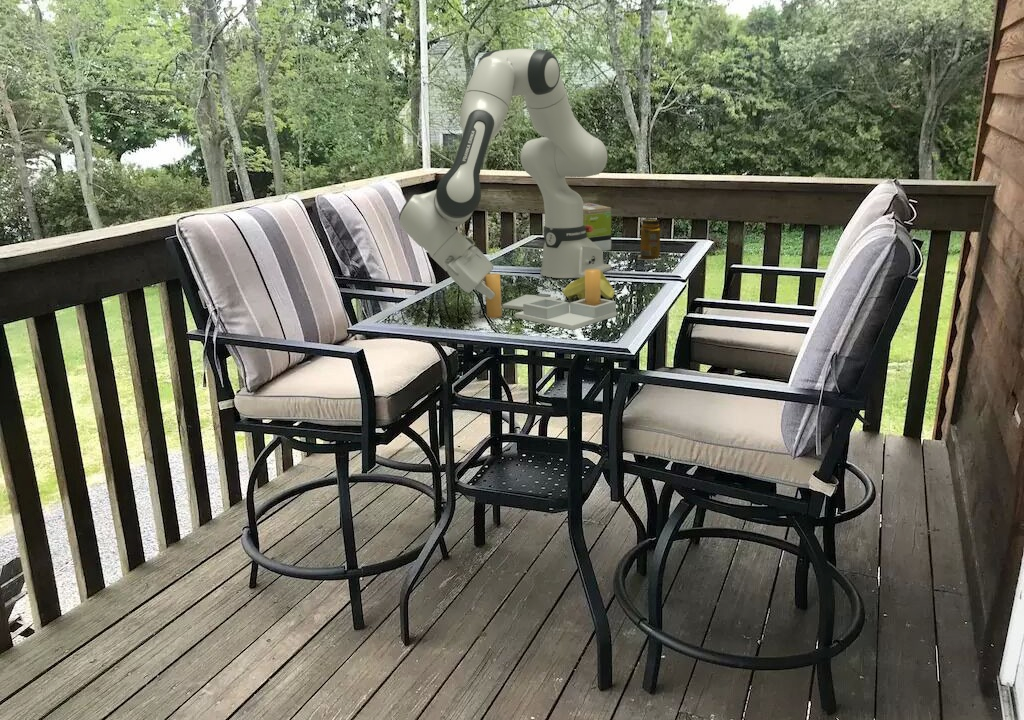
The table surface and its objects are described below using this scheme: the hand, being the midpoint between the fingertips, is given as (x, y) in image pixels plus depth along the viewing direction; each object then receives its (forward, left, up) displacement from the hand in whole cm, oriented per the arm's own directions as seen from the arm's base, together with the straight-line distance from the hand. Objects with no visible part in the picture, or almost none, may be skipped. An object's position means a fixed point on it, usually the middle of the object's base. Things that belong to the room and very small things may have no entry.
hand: (496, 293), depth 194 cm
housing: (-10, +13, -5) cm, 17 cm away
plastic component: (-26, +6, -6) cm, 27 cm away
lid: (-14, -2, -5) cm, 15 cm away
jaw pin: (0, -1, -5) cm, 5 cm away
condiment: (-82, -15, -6) cm, 83 cm away
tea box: (-84, -42, -6) cm, 94 cm away
